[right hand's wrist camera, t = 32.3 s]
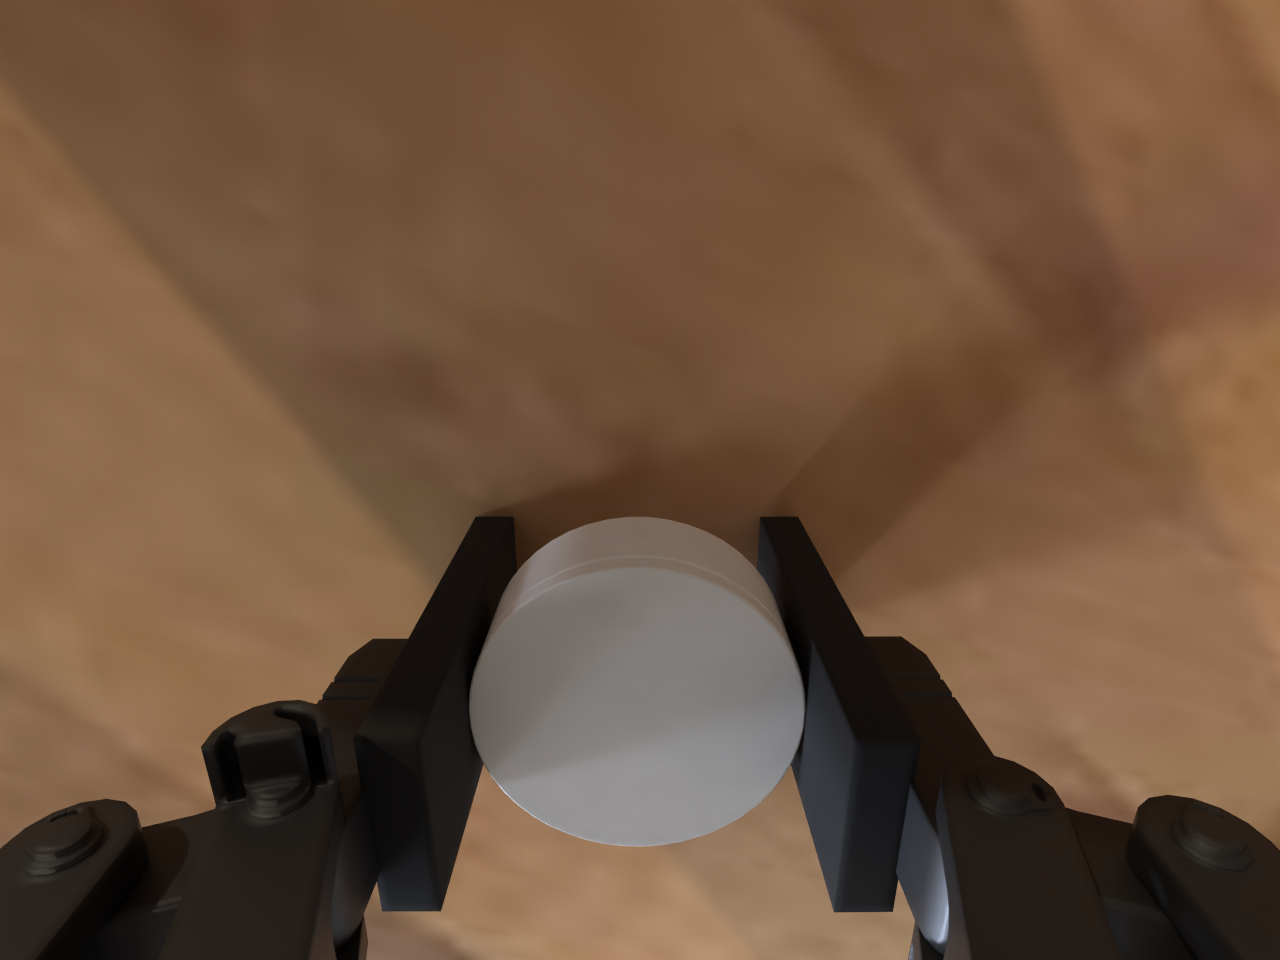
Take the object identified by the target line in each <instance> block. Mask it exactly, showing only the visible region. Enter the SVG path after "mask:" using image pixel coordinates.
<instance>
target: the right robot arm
mask: <svg viewBox="0 0 1280 960" xmlns="http://www.w3.org/2000/svg"><path fill="white" fill-rule="evenodd" d="M757 571H758V572H759V573H760V575H761V576H762V577H763V578H764V580H765V582H766V583H767V585H768V587H769V589H770V590H771V592H772V594H773V596H774V598H775V601H776V604H777V606H778V609H779V611H780V614H781V617H782V620H783V623H784V626H785V628H786V631H787V634H788V637H789V640H790V643H791V646H792V648H793V651H794V654H795V657H796V660H797V663H798V665H799V668H800V671H801V675H802V680H803V684H804V689H805V701H806V713H805V723H804V729H803V733H802V737H801V741H800V745H799V747H798V750H797V752H796V754H795V757H794V759H793V761H792V763H791V766H792V769H793V773H794V776H795V779H796V783H797V786H798V790H799V793H800V797H801V800H802V803H803V807H804V810H805V814H806V817H807V821H808V824H809V828H810V831H811V834H812V838H813V841H814V845H815V848H816V852H817V855H818V859H819V862H820V865H821V869H822V872H823V876H824V879H825V883H826V886H827V889H828V893H829V896H830V900H831V903H832V907H833V910H834V912H893V907H894V901H895V895H896V889H897V883H898V879H899V881H900V884H901V886H902V889H903V891H904V894H905V896H906V899H907V901H908V904H909V906H910V909H911V911H912V914H913V916H914V919H915V925H914V930H913V936H912V941H911V947H910V952H909V958H908V960H1280V850H1279V849H1278V848H1277V847H1276V846H1275V845H1274V844H1273V843H1272V842H1271V841H1270V840H1268V839H1267V838H1266V837H1265V836H1263V835H1262V834H1261V833H1260V832H1258V831H1257V830H1256V829H1255V828H1253V827H1252V826H1251V825H1250V824H1248V823H1247V822H1245V821H1243V820H1241V819H1239V818H1238V817H1236V816H1234V815H1232V814H1230V813H1229V812H1227V811H1225V810H1223V809H1221V808H1219V807H1216V806H1213V805H1210V804H1207V803H1204V802H1202V801H1199V800H1196V799H1193V798H1186V797H1179V796H1172V795H1164V796H1158V797H1152V798H1148V799H1147V800H1146V801H1145V802H1144V803H1142V804H1141V805H1140V806H1139V807H1138V809H1137V813H1136V816H1135V819H1134V822H1133V824H1131V823H1127V822H1122V821H1118V820H1114V819H1109V818H1105V817H1100V816H1096V815H1092V814H1087V813H1083V812H1079V811H1075V810H1072V809H1069V808H1065V806H1064V804H1063V802H1062V801H1061V799H1060V798H1059V796H1058V794H1057V793H1056V791H1055V790H1054V788H1053V787H1052V786H1050V785H1049V784H1048V783H1047V782H1046V781H1045V780H1043V779H1042V778H1041V777H1040V776H1039V775H1037V774H1036V773H1035V772H1033V771H1031V770H1029V769H1027V768H1025V767H1023V766H1021V765H1020V764H1018V763H1016V762H1014V761H1010V760H1007V759H1003V758H1000V757H996V756H994V755H993V753H992V752H991V750H990V749H989V747H988V746H987V744H986V743H985V741H984V740H983V739H982V737H981V736H980V734H979V733H978V731H977V730H976V728H975V727H974V725H973V724H972V722H971V721H970V719H969V718H968V716H967V715H966V713H965V712H964V710H963V709H962V707H961V706H960V704H959V703H958V701H957V700H956V698H955V697H952V692H951V691H950V690H949V688H948V687H947V685H946V684H945V682H944V681H943V680H941V679H940V675H939V673H938V672H937V670H936V669H935V667H934V666H933V664H932V663H931V661H930V660H929V658H928V657H927V655H926V654H925V653H923V652H922V651H920V650H919V649H918V648H916V647H915V646H914V645H912V644H911V643H909V642H908V641H907V640H905V639H904V638H903V637H864V635H863V633H862V631H861V630H860V628H859V626H858V624H857V622H856V621H855V619H854V617H853V615H852V613H851V612H850V610H849V608H848V606H847V604H846V603H845V601H844V599H843V597H842V595H841V594H840V592H839V590H838V588H837V586H836V585H835V583H834V581H833V579H832V577H831V576H830V574H829V572H828V570H827V568H826V567H825V565H824V563H823V561H822V559H821V558H820V556H819V554H818V552H817V550H816V549H815V547H814V545H813V543H812V541H811V540H810V538H809V536H808V534H807V532H806V531H805V529H804V527H803V525H802V523H801V522H800V520H799V518H798V517H761V518H760V533H759V549H758V565H757ZM516 572H517V564H516V549H515V534H514V519H513V517H476V518H475V519H474V521H473V523H472V525H471V527H470V528H469V530H468V532H467V534H466V536H465V537H464V539H463V541H462V543H461V545H460V546H459V548H458V550H457V552H456V554H455V556H454V557H453V559H452V561H451V563H450V565H449V566H448V568H447V570H446V572H445V574H444V575H443V577H442V579H441V581H440V583H439V584H438V586H437V588H436V590H435V592H434V593H433V595H432V597H431V599H430V601H429V602H428V604H427V606H426V608H425V610H424V612H423V613H422V615H421V617H420V619H419V621H418V622H417V624H416V626H415V628H414V630H413V631H412V633H411V635H410V637H409V639H372V640H371V641H369V642H368V643H367V644H365V645H364V646H363V647H361V648H360V649H358V650H357V651H356V652H354V653H353V654H352V655H350V656H349V657H348V658H347V660H346V661H345V663H344V664H343V666H342V667H341V669H340V670H339V672H338V673H337V675H336V676H335V678H334V682H331V684H330V685H329V687H328V688H327V690H326V691H325V693H324V694H323V698H322V700H319V702H318V703H317V704H313V703H309V702H305V701H301V700H291V701H276V702H272V703H268V704H264V705H260V706H256V707H253V708H251V709H249V710H247V711H244V712H242V713H240V714H238V715H236V716H234V717H232V718H230V719H229V720H227V721H226V722H225V723H223V724H222V725H221V726H219V727H218V728H217V729H215V730H214V731H213V732H212V733H211V734H210V736H209V737H208V738H207V740H206V741H205V743H204V744H203V745H202V747H201V749H202V753H203V757H204V761H205V764H206V768H207V772H208V776H209V780H210V784H211V787H212V791H213V795H214V799H215V803H216V807H215V809H214V810H210V811H207V812H204V813H201V814H197V815H194V816H189V817H185V818H181V819H176V820H172V821H168V822H164V823H159V824H155V825H151V826H147V827H141V824H140V821H139V818H138V815H137V811H136V810H134V809H133V808H132V807H131V806H130V805H129V804H128V803H126V802H123V801H117V800H110V799H103V800H96V801H89V802H82V803H79V804H76V805H73V806H70V807H68V808H65V809H62V810H59V811H56V812H54V813H52V814H50V815H48V816H46V817H44V818H43V819H41V820H39V821H37V822H35V823H34V824H32V825H30V826H28V827H26V828H25V829H24V830H23V831H21V832H20V833H19V834H18V835H16V836H15V837H14V838H13V839H11V840H10V841H9V842H8V843H7V844H5V845H4V846H3V847H2V848H1V849H0V960H366V956H367V945H368V939H367V932H366V925H365V920H364V912H365V909H366V907H367V904H368V901H369V899H370V896H371V894H372V891H373V889H374V886H375V884H376V881H377V884H378V890H379V896H380V901H381V907H382V911H441V909H442V906H443V902H444V899H445V895H446V892H447V888H448V885H449V881H450V878H451V875H452V871H453V868H454V864H455V861H456V857H457V854H458V850H459V847H460V843H461V840H462V836H463V833H464V829H465V826H466V823H467V819H468V816H469V812H470V809H471V805H472V802H473V798H474V795H475V791H476V788H477V784H478V781H479V777H480V774H481V771H482V767H483V764H484V763H483V762H482V759H481V757H480V755H479V752H478V750H477V748H476V745H475V742H474V738H473V734H472V730H471V726H470V717H469V692H470V685H471V681H472V677H473V672H474V669H475V666H476V664H477V661H478V658H479V656H480V653H481V650H482V647H483V645H484V642H485V639H486V637H487V634H488V631H489V629H490V626H491V623H492V621H493V618H494V615H495V612H496V610H497V607H498V605H499V602H500V600H501V597H502V595H503V593H504V591H505V589H506V587H507V586H508V584H509V582H510V581H511V579H512V577H513V576H514V575H515V574H516Z"/></svg>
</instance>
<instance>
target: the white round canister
mask: <svg viewBox="0 0 1280 960" xmlns="http://www.w3.org/2000/svg"><path fill="white" fill-rule="evenodd" d="M805 713H806V701H805V689H804V684H803V680H802V675H801V671H800V668H799V665H798V663H797V660H796V657H795V654H794V651H793V648H792V646H791V643H790V640H789V637H788V634H787V631H786V628H785V626H784V623H783V620H782V617H781V614H780V611H779V609H778V606H777V604H776V601H775V598H774V596H773V594H772V592H771V590H770V589H769V587H768V585H767V583H766V582H765V580H764V578H763V577H762V576H761V575H760V573H759V572H758V571H757V570H756V568H755V567H754V566H753V565H752V564H751V563H750V562H749V561H748V560H747V559H746V558H745V557H744V556H743V555H742V554H741V553H740V552H739V551H737V550H736V549H734V548H733V547H732V546H730V545H729V544H728V543H726V542H725V541H723V540H721V539H719V538H718V537H716V536H714V535H712V534H710V533H708V532H706V531H704V530H701V529H699V528H696V527H694V526H691V525H688V524H684V523H680V522H676V521H673V520H668V519H660V518H653V517H623V518H614V519H607V520H603V521H599V522H594V523H590V524H587V525H584V526H582V527H579V528H576V529H574V530H571V531H569V532H567V533H565V534H563V535H561V536H559V537H557V538H556V539H554V540H552V541H550V542H549V543H548V544H546V545H545V546H543V547H542V548H541V549H539V550H538V551H537V552H535V553H534V554H533V555H532V556H531V557H530V558H529V559H528V560H527V561H526V562H525V563H524V564H523V565H522V566H521V567H520V569H519V570H518V571H517V572H516V574H515V575H514V576H513V577H512V579H511V581H510V582H509V584H508V586H507V587H506V589H505V591H504V593H503V595H502V597H501V600H500V602H499V605H498V607H497V610H496V612H495V615H494V618H493V621H492V623H491V626H490V629H489V631H488V634H487V637H486V639H485V642H484V645H483V647H482V650H481V653H480V656H479V658H478V661H477V664H476V666H475V669H474V672H473V677H472V681H471V685H470V692H469V717H470V726H471V730H472V734H473V738H474V742H475V745H476V748H477V750H478V752H479V755H480V757H481V759H482V762H483V763H484V765H485V767H486V768H487V770H488V771H489V773H490V775H491V776H492V778H493V779H494V780H495V782H496V783H497V784H498V785H499V786H500V788H501V789H502V790H503V791H504V792H505V793H506V794H507V795H508V796H509V797H510V798H511V799H512V800H513V801H514V802H515V803H516V804H517V805H519V806H520V807H521V808H523V809H524V810H525V811H527V812H528V813H529V814H531V815H532V816H533V817H535V818H537V819H539V820H540V821H542V822H544V823H546V824H547V825H549V826H551V827H553V828H556V829H558V830H560V831H562V832H565V833H567V834H570V835H573V836H576V837H579V838H582V839H585V840H590V841H594V842H599V843H604V844H611V845H620V846H655V845H665V844H671V843H676V842H681V841H686V840H690V839H693V838H696V837H700V836H703V835H706V834H708V833H711V832H713V831H715V830H718V829H720V828H722V827H724V826H726V825H728V824H730V823H732V822H733V821H735V820H737V819H739V818H740V817H742V816H743V815H745V814H746V813H747V812H749V811H750V810H751V809H753V808H754V807H756V806H757V805H758V804H759V803H760V802H761V801H762V800H763V799H764V798H765V797H766V796H767V795H769V794H770V793H771V791H772V790H773V789H774V788H775V787H776V785H777V784H778V783H779V782H780V780H781V779H782V778H783V776H784V775H785V773H786V771H787V770H788V768H789V767H790V765H791V763H792V761H793V759H794V757H795V754H796V752H797V750H798V747H799V745H800V741H801V737H802V733H803V729H804V723H805Z"/></svg>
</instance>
